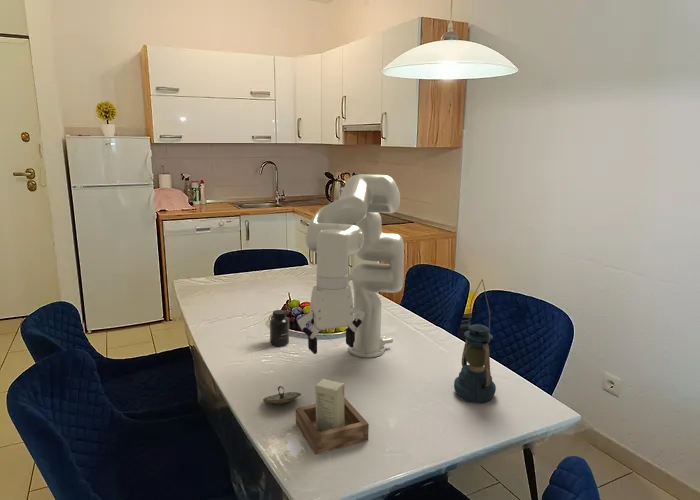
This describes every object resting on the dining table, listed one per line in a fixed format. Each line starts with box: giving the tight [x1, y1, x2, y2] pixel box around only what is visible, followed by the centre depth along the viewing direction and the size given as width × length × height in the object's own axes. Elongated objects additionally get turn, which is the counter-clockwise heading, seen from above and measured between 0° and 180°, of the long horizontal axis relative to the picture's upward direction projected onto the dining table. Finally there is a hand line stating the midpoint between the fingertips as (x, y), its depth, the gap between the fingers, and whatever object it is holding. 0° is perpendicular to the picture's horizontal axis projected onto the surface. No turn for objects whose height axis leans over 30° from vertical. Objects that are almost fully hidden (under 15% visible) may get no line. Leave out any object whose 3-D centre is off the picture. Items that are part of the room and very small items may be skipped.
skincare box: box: [314, 378, 345, 431], centre depth 126 cm, size 6×4×12 cm
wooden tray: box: [295, 396, 370, 455], centre depth 127 cm, size 14×14×4 cm
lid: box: [262, 385, 302, 405], centre depth 140 cm, size 11×10×5 cm
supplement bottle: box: [269, 309, 290, 347], centre depth 180 cm, size 7×7×12 cm
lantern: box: [453, 279, 497, 404], centre depth 143 cm, size 14×12×35 cm
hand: (331, 348), depth 123 cm, fingers open, 9 cm apart
